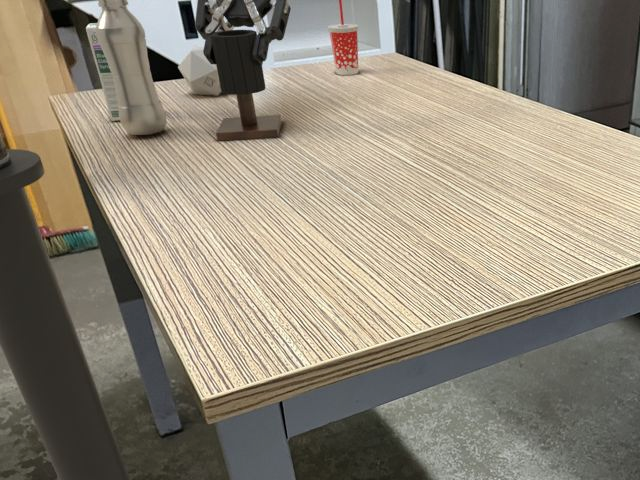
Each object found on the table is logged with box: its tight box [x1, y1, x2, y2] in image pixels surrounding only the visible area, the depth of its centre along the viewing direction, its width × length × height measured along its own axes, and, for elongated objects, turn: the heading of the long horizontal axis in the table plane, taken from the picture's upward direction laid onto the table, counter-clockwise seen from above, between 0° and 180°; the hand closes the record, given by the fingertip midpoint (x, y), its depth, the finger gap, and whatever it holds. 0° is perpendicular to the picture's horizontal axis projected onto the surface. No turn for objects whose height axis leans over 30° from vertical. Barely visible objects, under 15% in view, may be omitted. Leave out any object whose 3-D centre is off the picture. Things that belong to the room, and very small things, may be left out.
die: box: [177, 45, 222, 97], centre depth 132 cm, size 8×9×10 cm
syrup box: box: [85, 22, 120, 122], centre depth 116 cm, size 6×6×14 cm
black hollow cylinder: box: [210, 29, 266, 96], centre depth 105 cm, size 6×6×8 cm
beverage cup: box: [327, 0, 359, 76], centre depth 144 cm, size 6×6×14 cm
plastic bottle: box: [96, 0, 167, 136], centre depth 105 cm, size 6×7×20 cm
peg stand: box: [216, 93, 282, 142], centre depth 109 cm, size 9×9×8 cm
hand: (233, 61), depth 104 cm, fingers closed on black hollow cylinder, 6 cm apart
